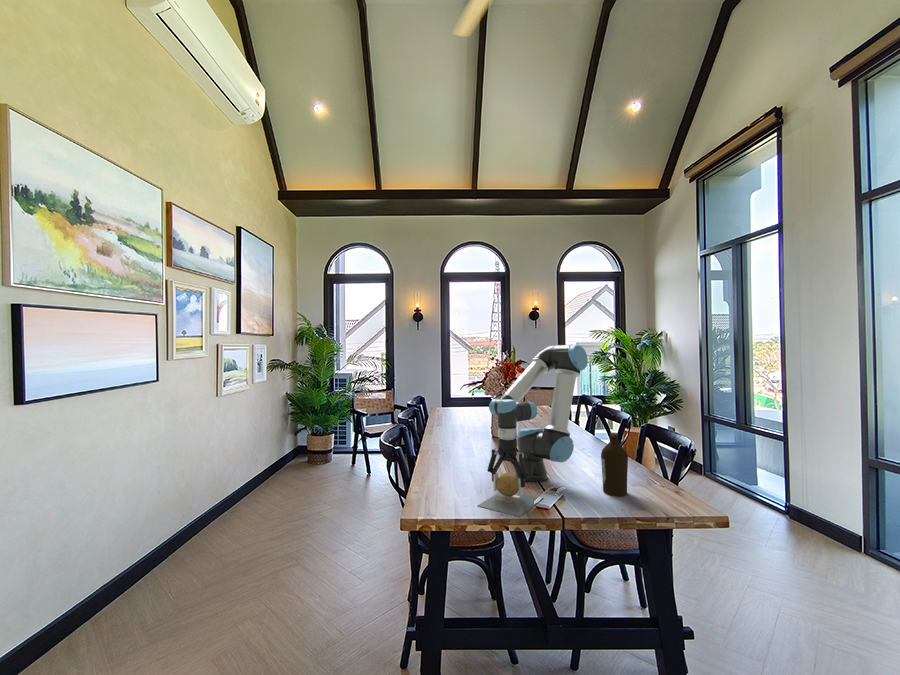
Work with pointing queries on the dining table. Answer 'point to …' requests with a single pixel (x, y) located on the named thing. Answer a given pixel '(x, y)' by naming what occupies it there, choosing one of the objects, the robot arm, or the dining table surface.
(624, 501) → the dining table surface
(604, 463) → the olive oil
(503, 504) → the tile
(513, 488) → the potato
